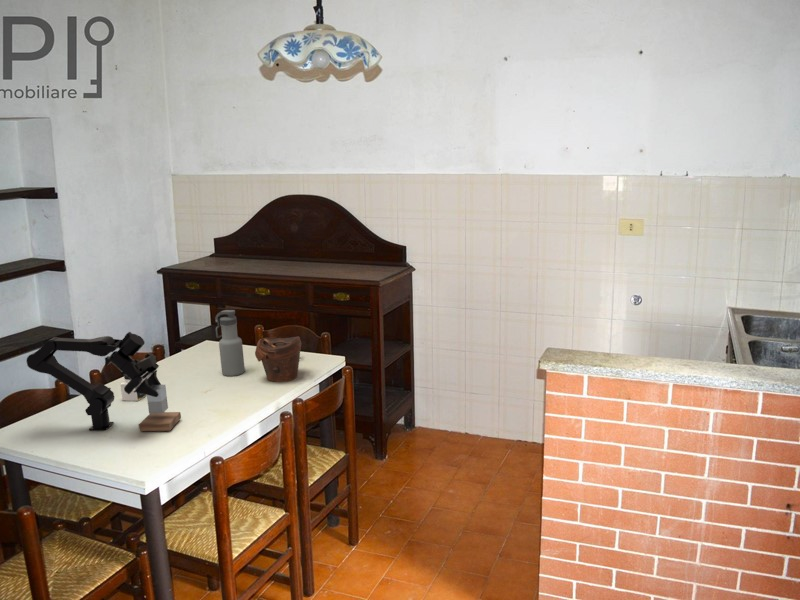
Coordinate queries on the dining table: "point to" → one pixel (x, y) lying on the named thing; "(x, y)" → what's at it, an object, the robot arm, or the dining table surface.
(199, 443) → the dining table surface
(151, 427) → the walnut stand
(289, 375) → the case
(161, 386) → the block
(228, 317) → the water bottle
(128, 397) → the medicine bottle
